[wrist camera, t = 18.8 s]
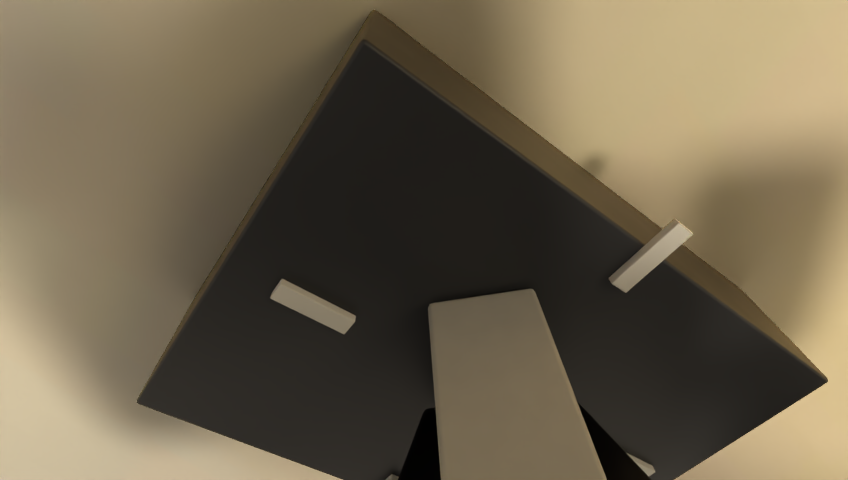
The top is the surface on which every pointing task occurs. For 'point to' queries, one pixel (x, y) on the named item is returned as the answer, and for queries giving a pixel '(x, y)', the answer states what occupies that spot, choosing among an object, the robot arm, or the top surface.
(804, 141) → the top surface
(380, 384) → the dial panel
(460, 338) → the grey long block
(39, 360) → the top surface
